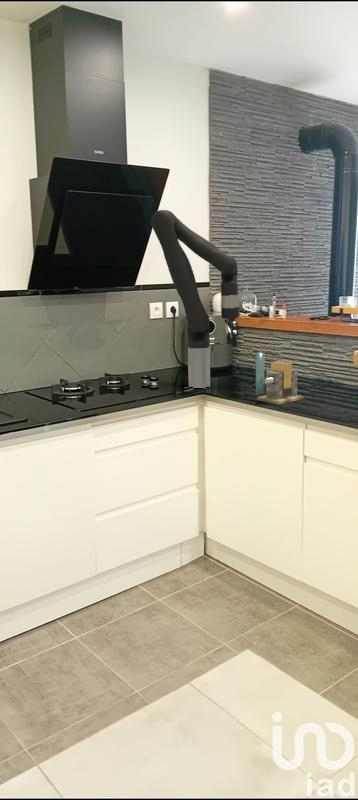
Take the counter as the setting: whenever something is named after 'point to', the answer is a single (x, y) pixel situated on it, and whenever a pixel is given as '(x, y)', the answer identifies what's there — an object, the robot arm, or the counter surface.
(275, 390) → the frame
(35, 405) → the counter surface
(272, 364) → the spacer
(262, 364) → the shaft
